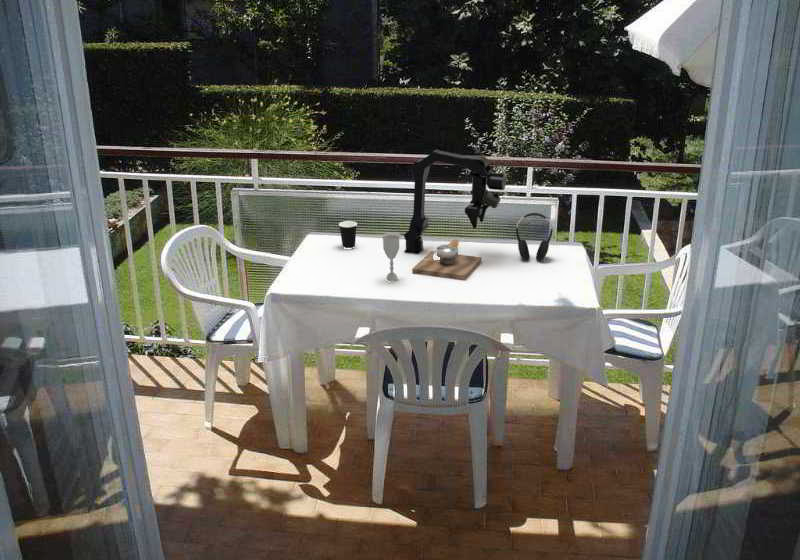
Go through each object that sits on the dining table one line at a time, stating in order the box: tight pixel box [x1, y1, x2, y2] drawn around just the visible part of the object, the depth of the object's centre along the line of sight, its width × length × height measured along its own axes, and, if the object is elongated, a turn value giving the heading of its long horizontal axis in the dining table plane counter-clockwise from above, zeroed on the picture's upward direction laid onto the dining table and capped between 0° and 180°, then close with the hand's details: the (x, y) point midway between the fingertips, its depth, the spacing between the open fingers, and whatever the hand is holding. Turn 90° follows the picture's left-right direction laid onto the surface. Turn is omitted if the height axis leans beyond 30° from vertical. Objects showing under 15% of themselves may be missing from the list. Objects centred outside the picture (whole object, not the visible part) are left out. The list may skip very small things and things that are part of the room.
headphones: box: [515, 212, 554, 261], centre depth 316 cm, size 9×15×20 cm, turn 80°
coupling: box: [436, 238, 460, 259], centre depth 313 cm, size 15×8×3 cm, turn 158°
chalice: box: [381, 232, 401, 282], centre depth 297 cm, size 7×7×18 cm
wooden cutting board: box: [411, 250, 483, 281], centre depth 311 cm, size 22×22×5 cm
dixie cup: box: [338, 220, 358, 248], centre depth 334 cm, size 8×8×11 cm
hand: (478, 225), depth 316 cm, fingers open, 9 cm apart
